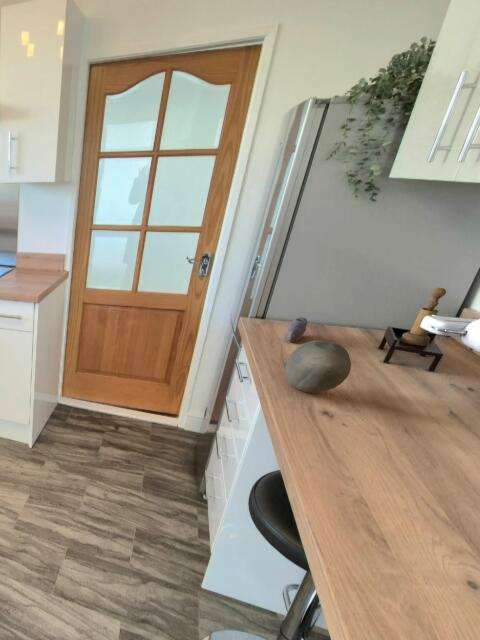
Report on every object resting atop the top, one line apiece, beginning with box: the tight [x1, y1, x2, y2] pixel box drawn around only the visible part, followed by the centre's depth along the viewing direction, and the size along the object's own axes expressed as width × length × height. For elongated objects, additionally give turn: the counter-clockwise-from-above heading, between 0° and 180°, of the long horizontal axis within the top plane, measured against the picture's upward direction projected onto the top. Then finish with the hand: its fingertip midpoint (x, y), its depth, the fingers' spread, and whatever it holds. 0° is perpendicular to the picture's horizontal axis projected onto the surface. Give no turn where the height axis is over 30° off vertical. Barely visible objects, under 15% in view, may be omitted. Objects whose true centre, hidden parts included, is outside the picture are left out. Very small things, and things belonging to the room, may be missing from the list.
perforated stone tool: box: [286, 316, 308, 343], centre depth 158 cm, size 15×5×7 cm, turn 135°
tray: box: [378, 326, 444, 373], centre depth 141 cm, size 12×16×8 cm
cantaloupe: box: [285, 339, 352, 394], centre depth 118 cm, size 14×14×15 cm
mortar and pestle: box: [401, 287, 447, 346], centre depth 136 cm, size 7×6×18 cm
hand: (453, 319), depth 125 cm, fingers open, 8 cm apart
